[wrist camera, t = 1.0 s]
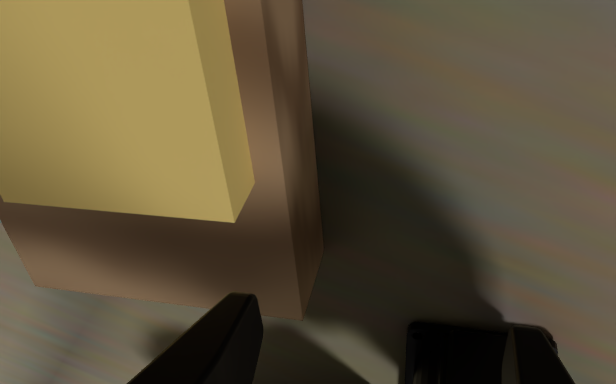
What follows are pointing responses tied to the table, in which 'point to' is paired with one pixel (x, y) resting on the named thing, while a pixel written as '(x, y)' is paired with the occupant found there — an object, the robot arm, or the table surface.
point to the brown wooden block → (203, 233)
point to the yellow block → (122, 108)
